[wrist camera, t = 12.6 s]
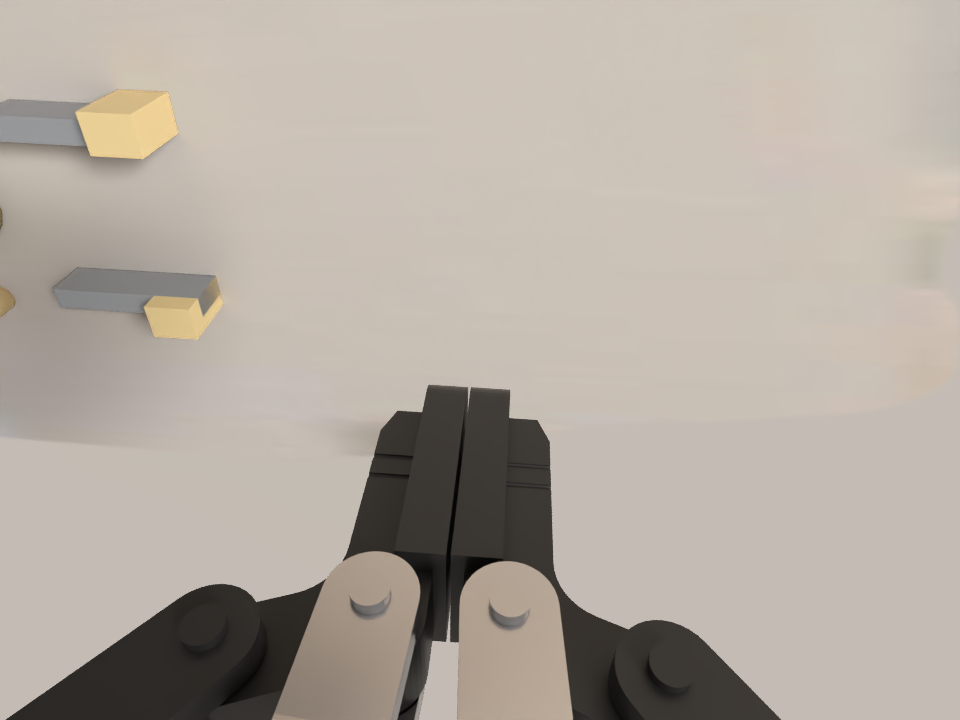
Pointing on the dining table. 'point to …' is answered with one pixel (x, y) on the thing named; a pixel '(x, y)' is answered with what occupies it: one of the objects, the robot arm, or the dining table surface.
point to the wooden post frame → (123, 134)
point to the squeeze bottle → (0, 217)
